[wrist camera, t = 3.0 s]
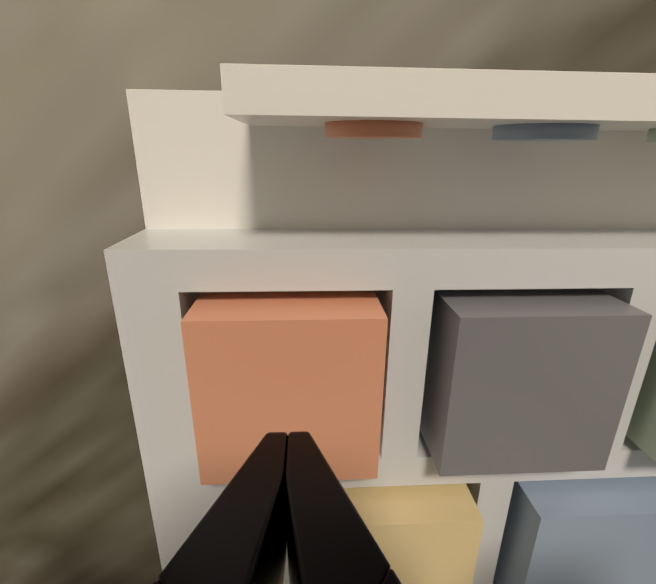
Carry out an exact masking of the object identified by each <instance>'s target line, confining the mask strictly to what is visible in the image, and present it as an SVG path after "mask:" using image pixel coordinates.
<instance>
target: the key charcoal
mask: <svg viewBox="0 0 656 584" xmlns="http://www.w3.org/2000/svg"><path fill="white" fill-rule="evenodd" d="M651 318H652V315H651V314H649V313H647V312H644V311H642V310H640V309H638V308H636V307H634V306H632V305H630V304H628V303H625V302H623V301H621V300H619V299H617V298H615V297H613V296H611V295H609V294H607V293H604V292H602V291H600V290H598V289H540V290H435V296H434V305H433V315H432V324H431V333H430V343H429V352H428V362H427V371H426V380H425V390H424V399H423V408H422V418H421V427H420V430H421V433H422V435H423V438H424V440H425V442H426V445H427V447H428V450H429V452H430V455H431V457H432V459H433V462H434V464H435V467H436V469H437V471H438V474H439V476H463V475H491V474H518V473H546V472H573V471H600V470H605V468H606V465H607V461H608V458H609V455H610V452H611V448H612V445H613V442H614V439H615V435H616V432H617V429H618V426H619V422H620V419H621V416H622V413H623V409H624V406H625V403H626V400H627V396H628V393H629V390H630V387H631V383H632V380H633V377H634V374H635V370H636V367H637V364H638V361H639V357H640V354H641V351H642V348H643V344H644V341H645V338H646V335H647V331H648V328H649V325H650V322H651Z"/></svg>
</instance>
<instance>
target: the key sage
mask: <svg viewBox="0 0 656 584" xmlns="http://www.w3.org/2000/svg"><path fill="white" fill-rule="evenodd" d="M626 436H627V437H628V438H629V439H630V440H632V441H633V442H634V443H635V444H636V445H637V446H638V447H639V448H641V449H642V450H643V451H644V452H645V453H646V454H647V455H648V456H650V457H651V458H652V459H653V460H654V461H655V462H656V342H655V345H654V348H653V351H652V354H651V357H650V360H649V364H648V367H647V370H646V373H645V376H644V379H643V382H642V386H641V389H640V392H639V395H638V398H637V401H636V404H635V408H634V411H633V414H632V417H631V420H630V423H629V426H628V430H627V433H626Z"/></svg>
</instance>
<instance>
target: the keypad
mask: <svg viewBox="0 0 656 584" xmlns="http://www.w3.org/2000/svg"><path fill="white" fill-rule="evenodd" d="M220 71H221V85H222V91H200V90H147V89H126V94H127V101H128V108H129V115H130V122H131V129H132V136H133V143H134V150H135V157H136V164H137V171H138V178H139V185H140V192H141V199H142V205H143V212H144V219H145V226H146V229H144V230H142V231H140V232H138V233H137V234H135V235H133V236H131V237H129V238H127V239H125V240H123V241H121V242H119V243H117V244H115V245H113V246H111V247H109V248H107V249H105V250H104V256H105V261H106V267H107V272H108V278H109V283H110V289H111V294H112V299H113V305H114V310H115V316H116V321H117V327H118V332H119V338H120V343H121V349H122V354H123V359H124V365H125V370H126V376H127V381H128V387H129V392H130V398H131V403H132V409H133V414H134V420H135V425H136V430H137V436H138V441H139V447H140V452H141V458H142V463H143V469H144V474H145V480H146V485H147V491H148V496H149V501H150V507H151V512H152V518H153V523H154V529H155V534H156V540H157V545H158V551H159V556H160V561H161V567H162V571H163V570H164V568H165V567H166V566H167V564H168V563H169V562H170V560H171V559H172V558H173V556H174V555H175V554H176V552H177V551H178V550H179V549H180V547H181V546H182V545H183V543H184V542H185V541H186V539H187V538H188V537H189V535H190V534H191V533H192V531H193V530H194V529H195V527H196V526H197V525H198V523H199V522H200V521H201V519H202V518H203V517H204V515H205V514H206V513H207V511H208V510H209V509H210V507H211V506H212V505H213V503H214V502H215V501H216V499H217V498H218V497H219V495H220V494H221V493H222V492H223V490H224V489H225V488H226V486H227V485H228V484H216V485H201V483H200V475H199V467H198V459H197V451H196V443H195V435H194V427H193V419H192V411H191V402H190V394H189V386H188V378H187V370H186V362H185V354H184V346H183V338H182V330H181V320H182V319H183V317H184V316H185V315H186V313H187V312H188V310H189V309H190V308H191V306H192V305H193V303H194V302H195V301H196V299H197V298H198V296H199V295H200V294H201V293H219V292H326V291H374V292H375V294H376V296H377V298H378V300H379V302H380V304H381V306H382V308H383V310H384V312H385V314H386V316H387V318H388V327H387V342H386V357H385V373H384V388H383V403H382V418H381V433H380V448H379V463H378V478H377V479H354V480H339V482H340V483H341V485H342V487H343V488H358V487H385V486H411V485H438V484H465V483H466V485H467V487H468V489H469V491H470V493H471V495H472V497H473V499H474V501H475V503H476V505H477V507H478V509H479V511H480V513H481V515H482V518H483V520H484V524H483V530H482V535H481V540H480V546H479V551H478V556H477V561H476V567H475V572H474V577H473V582H472V584H496V582H495V580H494V574H495V570H496V565H497V560H498V556H499V551H500V546H501V542H502V537H503V532H504V528H505V523H506V518H507V513H508V509H509V504H510V499H511V495H512V490H513V485H514V482H518V481H544V480H571V479H598V478H624V477H651V476H656V462H655V461H654V460H653V459H652V458H651V457H650V456H648V455H647V454H646V453H645V452H644V451H643V450H642V449H641V448H639V447H638V446H637V445H636V444H635V443H634V442H633V441H632V440H630V439H629V438H628V437H627V436H626V433H627V430H628V426H629V423H630V420H631V417H632V414H633V411H634V408H635V404H636V401H637V398H638V395H639V392H640V389H641V386H642V382H643V379H644V376H645V373H646V370H647V367H648V364H649V360H650V357H651V354H652V351H653V348H654V345H655V342H656V73H619V72H576V71H532V70H489V69H445V68H402V67H358V66H314V65H271V64H227V63H220ZM540 289H598V290H600V291H602V292H604V293H607V294H609V295H611V296H613V297H615V298H617V299H619V300H621V301H623V302H625V303H628V304H630V305H632V306H634V307H636V308H638V309H640V310H642V311H644V312H647V313H649V314H651V315H652V318H651V322H650V325H649V328H648V331H647V335H646V338H645V341H644V344H643V348H642V351H641V354H640V357H639V361H638V364H637V367H636V370H635V374H634V377H633V380H632V383H631V387H630V390H629V393H628V396H627V400H626V403H625V406H624V409H623V413H622V416H621V419H620V422H619V426H618V429H617V432H616V435H615V439H614V442H613V445H612V448H611V452H610V455H609V458H608V461H607V465H606V468H605V470H600V471H573V472H546V473H518V474H491V475H463V476H439V474H438V471H437V469H436V467H435V464H434V462H433V459H432V457H431V455H430V452H429V450H428V447H427V445H426V442H425V440H424V438H423V435H422V433H421V430H420V427H421V418H422V408H423V399H424V390H425V380H426V371H427V362H428V352H429V343H430V333H431V324H432V315H433V305H434V296H435V290H540ZM283 584H289V573H288V557H287V554H286V564H285V572H284V580H283Z"/></svg>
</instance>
